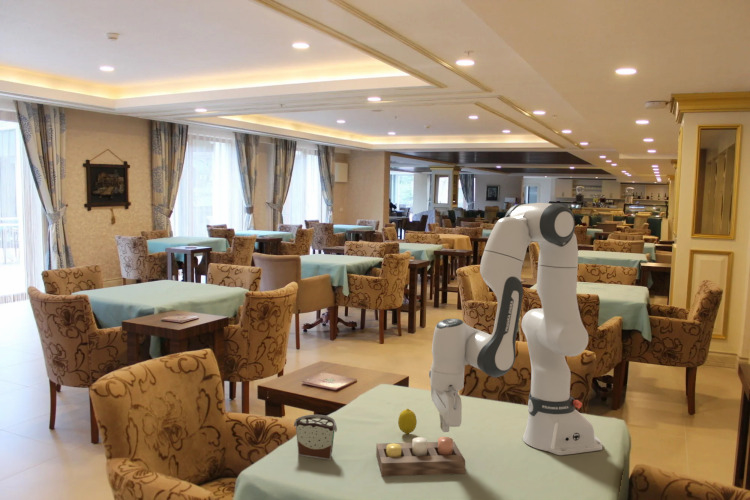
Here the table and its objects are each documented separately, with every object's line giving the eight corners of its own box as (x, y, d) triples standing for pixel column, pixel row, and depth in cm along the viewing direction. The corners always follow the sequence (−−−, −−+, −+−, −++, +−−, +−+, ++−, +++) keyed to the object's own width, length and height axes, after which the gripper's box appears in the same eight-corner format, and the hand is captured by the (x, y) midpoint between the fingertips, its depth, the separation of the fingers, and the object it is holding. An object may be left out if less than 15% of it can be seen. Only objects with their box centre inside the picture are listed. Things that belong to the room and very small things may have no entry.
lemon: (414, 439, 176) (415, 412, 175) (396, 437, 177) (397, 411, 176) (417, 431, 181) (418, 406, 180) (399, 429, 182) (400, 404, 181)
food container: (342, 451, 166) (343, 416, 165) (335, 460, 160) (335, 424, 159) (301, 445, 169) (302, 411, 168) (293, 454, 164) (293, 419, 163)
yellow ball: (399, 455, 160) (400, 443, 160) (402, 462, 156) (402, 449, 156) (385, 456, 160) (385, 443, 159) (387, 462, 156) (387, 449, 156)
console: (453, 453, 166) (454, 441, 166) (464, 473, 154) (465, 460, 154) (376, 455, 164) (376, 443, 163) (381, 476, 152) (381, 463, 151)
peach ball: (450, 448, 162) (451, 436, 161) (454, 455, 158) (454, 442, 157) (436, 449, 161) (436, 436, 161) (439, 455, 157) (439, 443, 157)
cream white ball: (425, 449, 161) (425, 437, 161) (428, 456, 157) (428, 443, 157) (411, 449, 160) (411, 437, 160) (413, 456, 156) (413, 443, 156)
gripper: (469, 392, 148) (466, 446, 149) (449, 368, 168) (447, 416, 169) (444, 392, 147) (441, 446, 148) (427, 368, 167) (425, 416, 168)
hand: (444, 430), depth 159 cm, fingers closed
